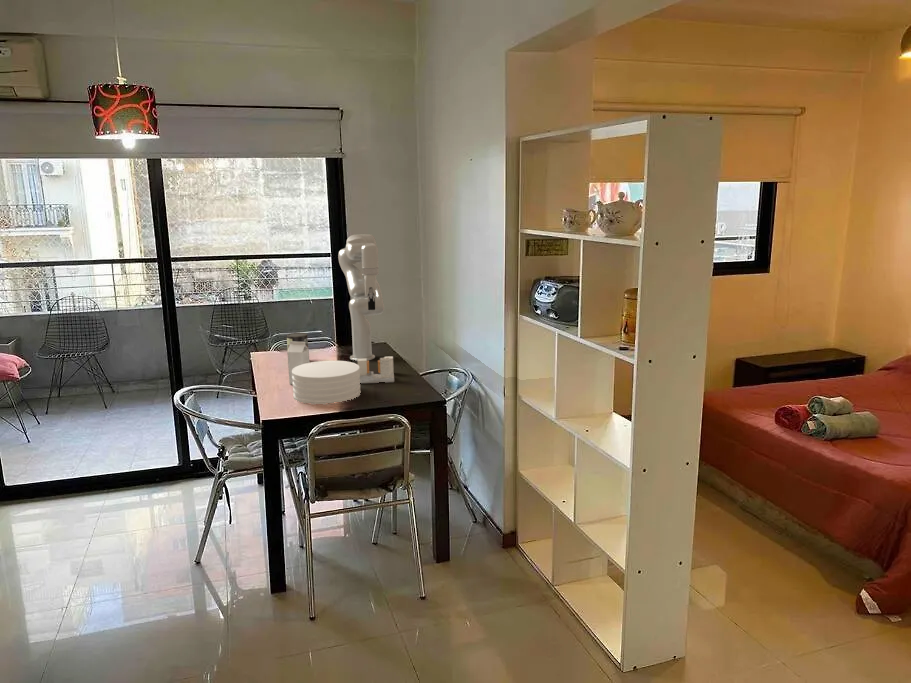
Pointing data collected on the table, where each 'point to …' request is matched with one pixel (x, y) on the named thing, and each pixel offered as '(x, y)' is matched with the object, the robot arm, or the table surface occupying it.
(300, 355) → the milk carton
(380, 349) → the table surface
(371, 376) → the rail
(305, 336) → the coffee can
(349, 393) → the plate stack
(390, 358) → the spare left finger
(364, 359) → the right finger
